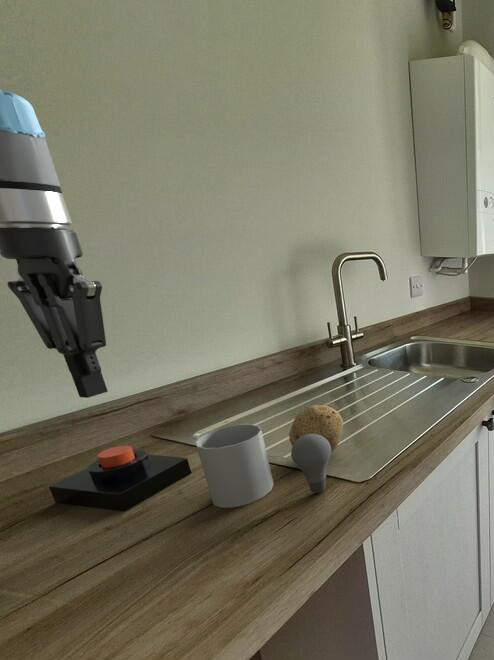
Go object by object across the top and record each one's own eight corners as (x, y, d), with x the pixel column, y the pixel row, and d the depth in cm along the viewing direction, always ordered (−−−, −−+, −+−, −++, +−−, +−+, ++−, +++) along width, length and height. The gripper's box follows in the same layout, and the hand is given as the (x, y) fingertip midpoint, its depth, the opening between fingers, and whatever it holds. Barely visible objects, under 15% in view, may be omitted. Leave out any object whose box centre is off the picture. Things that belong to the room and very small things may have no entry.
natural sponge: (292, 472, 71) (281, 419, 68) (295, 449, 79) (286, 401, 76) (348, 461, 75) (340, 410, 71) (346, 441, 82) (338, 394, 79)
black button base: (55, 503, 63) (43, 474, 61) (130, 466, 73) (121, 441, 72) (124, 511, 61) (114, 482, 59) (191, 473, 71) (184, 447, 69)
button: (94, 468, 64) (90, 456, 63) (121, 455, 68) (118, 444, 67) (115, 470, 63) (111, 458, 63) (141, 457, 67) (138, 446, 66)
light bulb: (344, 484, 67) (335, 429, 64) (324, 504, 62) (313, 445, 59) (314, 481, 68) (303, 426, 65) (291, 500, 63) (279, 442, 60)
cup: (199, 500, 63) (182, 442, 60) (249, 474, 71) (236, 421, 67) (237, 512, 60) (220, 452, 57) (285, 484, 68) (273, 429, 64)
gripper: (105, 227, 56) (154, 388, 64) (31, 228, 59) (87, 384, 66) (37, 225, 49) (101, 406, 57) (-45, 226, 52) (28, 400, 59)
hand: (94, 394), depth 62 cm, fingers closed
